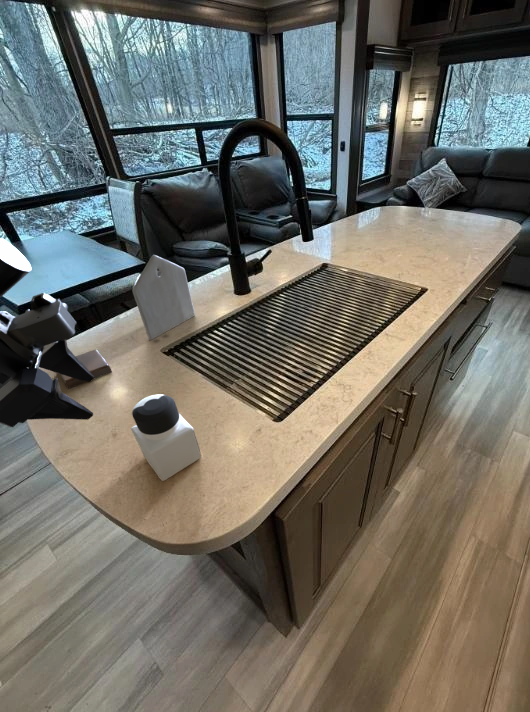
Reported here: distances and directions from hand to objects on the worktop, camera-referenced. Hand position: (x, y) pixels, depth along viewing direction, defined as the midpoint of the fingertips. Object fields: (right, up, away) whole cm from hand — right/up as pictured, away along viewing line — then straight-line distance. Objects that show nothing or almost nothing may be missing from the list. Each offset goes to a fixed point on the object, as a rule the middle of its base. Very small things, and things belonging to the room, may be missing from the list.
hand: (91, 397), depth 49 cm
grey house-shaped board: (-7, +19, +44) cm, 48 cm away
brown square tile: (-18, +5, +27) cm, 33 cm away
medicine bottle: (+9, -11, +7) cm, 16 cm away
